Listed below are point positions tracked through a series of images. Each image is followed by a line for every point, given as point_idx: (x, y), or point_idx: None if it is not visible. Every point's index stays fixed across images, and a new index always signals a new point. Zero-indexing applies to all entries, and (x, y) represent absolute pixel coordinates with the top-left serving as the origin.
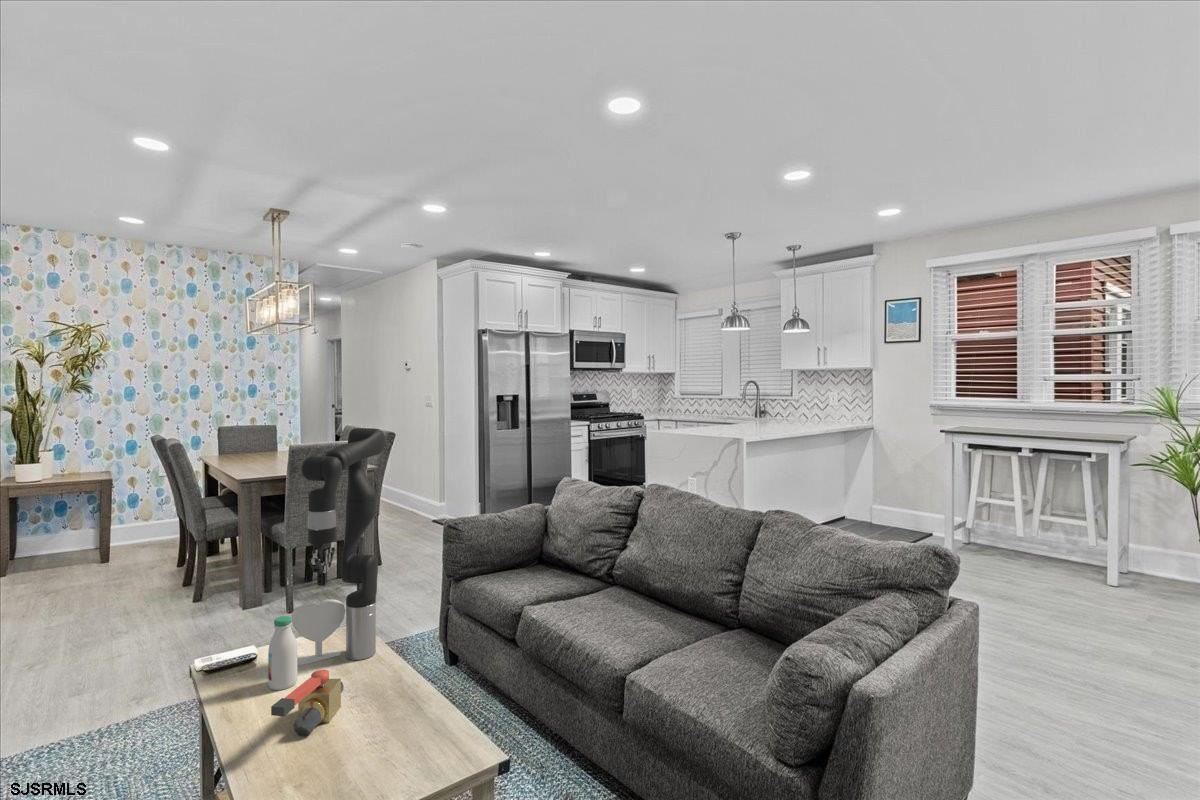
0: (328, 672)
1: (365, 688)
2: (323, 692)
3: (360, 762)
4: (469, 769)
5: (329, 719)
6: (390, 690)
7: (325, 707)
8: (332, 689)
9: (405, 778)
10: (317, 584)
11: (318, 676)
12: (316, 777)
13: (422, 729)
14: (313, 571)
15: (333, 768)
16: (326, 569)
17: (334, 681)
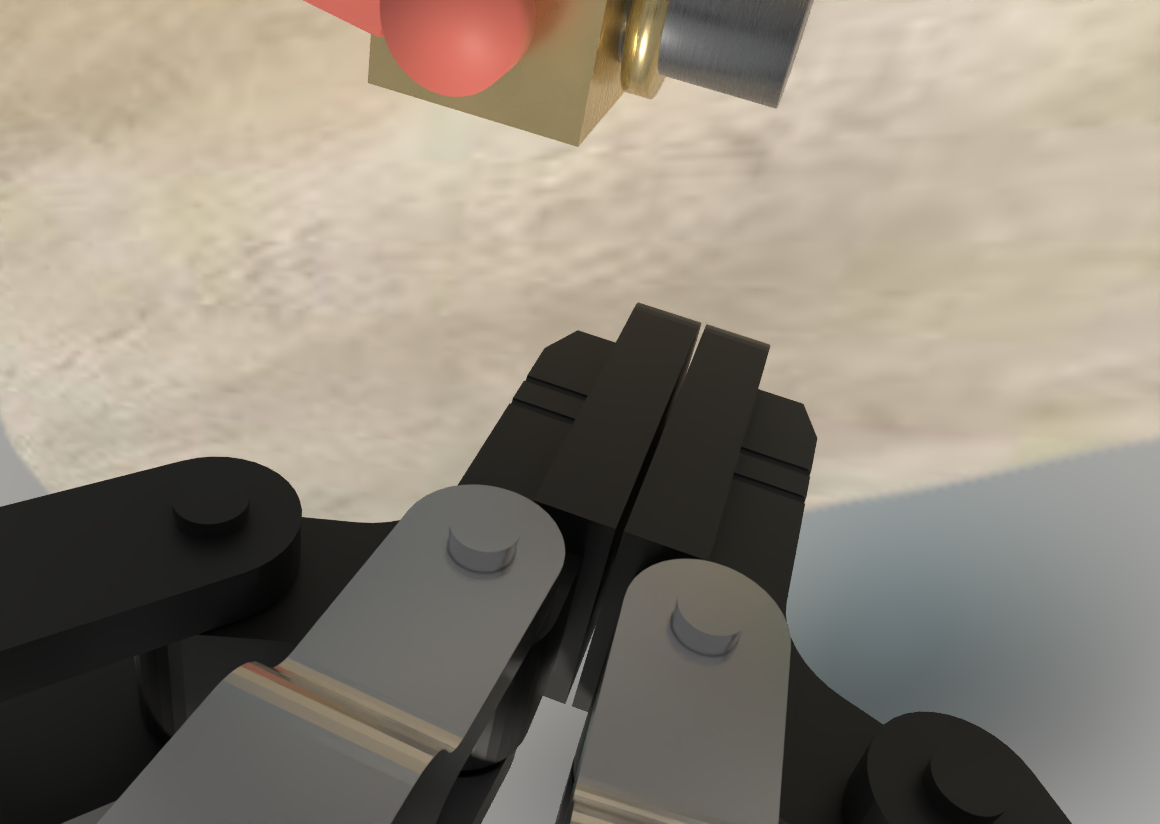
0: (457, 92)
1: (850, 225)
2: (380, 40)
3: (120, 210)
4: None
5: None
6: (766, 364)
7: None
8: (426, 99)
9: (47, 364)
10: (636, 308)
11: (396, 17)
12: (8, 28)
13: (348, 457)
14: (121, 494)
15: (72, 98)
16: (566, 786)
17: (539, 103)
